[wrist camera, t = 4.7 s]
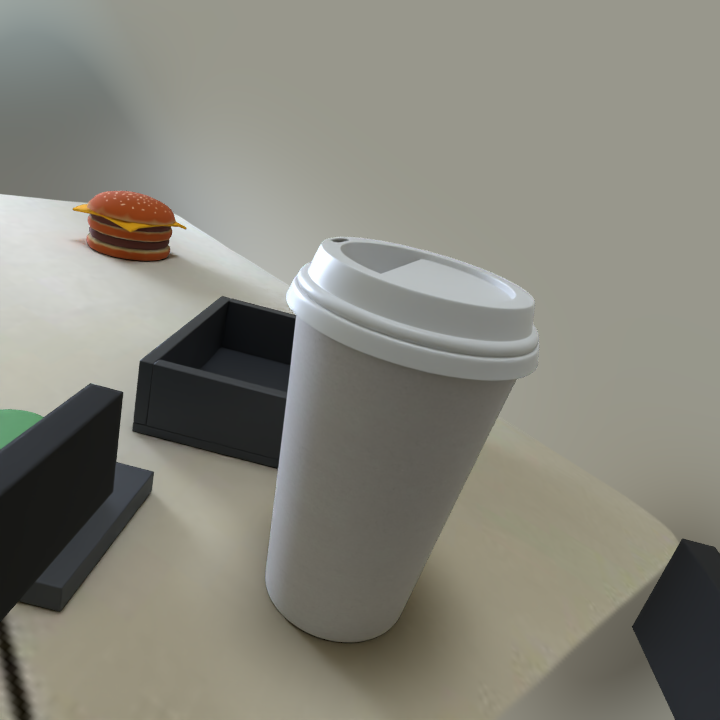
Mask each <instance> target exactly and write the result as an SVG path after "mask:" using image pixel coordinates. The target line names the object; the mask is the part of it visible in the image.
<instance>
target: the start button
mask: <svg viewBox="0 0 720 720" xmlns="http://www.w3.org/2000/svg"><path fill="white" fill-rule="evenodd" d="M42 418H44V417H42V416H40V415H38V414H35V413H32V412H28V411H23V410H12V409H3V410H0V449H2V448H3V447H4V446H6V445H7V444H8V443H10V442H11V441H12V440H14V439H15V438H17V437H18V436H19V435H21V434H22V433H23V432H25V431H26V430H27V429H29V428H30V427H32V426H33V425H34V424H36V423H37V422H38V421H40V420H41V419H42Z"/></svg>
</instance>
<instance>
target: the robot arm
mask: <svg viewBox="0 0 720 720" xmlns="http://www.w3.org/2000/svg"><path fill="white" fill-rule="evenodd" d="M122 399H123V392H121V391H117V390H114V389H110V388H106V387H102V386H98V385H94V384H91V383H90V384H89V385H87V386H86V387H85V388H83V389H82V390H81V391H79V392H78V393H77V394H75V395H74V396H72V397H71V398H70V399H68V400H67V401H66V402H64V403H63V404H62V405H60V406H59V407H57V408H56V409H55V410H53V411H52V412H51V413H49V414H48V415H47V416H45V417H44V418H42V419H41V420H40V421H38V422H37V423H36V424H34V425H33V426H32V427H30V428H29V429H27V430H26V431H25V432H23V433H22V434H21V435H19V436H18V437H17V438H15V439H14V440H12V441H11V442H10V443H8V444H7V445H6V446H4V447H3V448H2V449H0V622H1V621H2V620H3V618H4V617H5V616H6V615H7V614H8V613H9V611H10V610H11V609H12V608H13V607H14V606H15V605H16V603H17V602H18V601H19V600H20V599H21V598H22V596H23V595H24V594H25V593H26V592H27V591H28V590H29V588H30V587H31V586H32V585H33V584H34V583H35V581H36V580H37V579H38V578H39V577H40V576H41V575H42V573H43V572H44V571H45V570H46V569H47V568H48V566H49V565H50V564H51V563H52V562H53V561H54V560H55V558H56V557H57V556H58V555H59V554H60V553H61V551H62V550H63V549H64V548H65V547H66V546H67V544H68V543H69V542H70V541H71V540H72V539H73V538H74V536H75V535H76V534H77V533H78V532H79V531H80V529H81V528H82V527H83V526H84V525H85V524H86V523H87V521H88V520H89V519H90V518H91V517H92V516H93V514H94V513H95V512H96V511H97V510H98V509H99V508H100V506H101V505H102V504H103V503H104V502H105V501H106V499H107V498H108V497H109V496H110V495H111V494H112V493H113V488H114V478H115V468H116V459H117V449H118V439H119V429H120V419H121V409H122ZM632 628H633V630H634V632H635V634H636V636H637V638H638V640H639V643H640V645H641V647H642V649H643V651H644V654H645V656H646V658H647V660H648V662H649V664H650V667H651V669H652V671H653V673H654V675H655V677H656V679H657V682H658V684H659V686H660V688H661V690H662V692H663V694H664V696H665V699H666V701H667V703H668V705H669V707H670V710H671V712H672V714H673V716H674V718H675V720H720V553H719V552H718V551H717V549H716V548H715V547H713V546H709V545H705V544H701V543H697V542H693V541H690V540H686V539H682V540H681V542H680V544H679V545H678V547H677V549H676V551H675V552H674V554H673V556H672V558H671V559H670V561H669V563H668V565H667V566H666V568H665V570H664V572H663V573H662V575H661V577H660V579H659V580H658V582H657V584H656V586H655V587H654V589H653V591H652V593H651V594H650V596H649V598H648V600H647V601H646V603H645V605H644V607H643V609H642V610H641V612H640V614H639V616H638V617H637V619H636V621H635V623H634V625H633V626H632Z"/></svg>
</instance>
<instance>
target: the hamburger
mask: <svg viewBox="0 0 720 720" xmlns="http://www.w3.org/2000/svg"><path fill="white" fill-rule="evenodd" d="M73 210H74V211H79V212H84V213H89V214H90V215H89V216H88V224H89V225H90V227H89V232H90V233H89V234H88V235H87V243H88V245H89V247H91V248H92V249H94V250H96V251H98V252H100V253H103V254H106V255H110V256H113V257H117V258H123V259H128V260H140V261H156V260H160V259H164V258H167V256H168V255H169V253H170V247H169V245H168V244H169V238H170V237H171V235H172V229H171V226H174V227H181V228H183V229H186V227H185V226H183V225H181V224H179V223H177V222H176V221H175V217H174V214H173V212H172V211H171V209H170V208H169V207H167V206H166V205H165V204H163V203H161V202H160V201H158V200H156V199H153V198H151V197H149V196H147V195H143V194H139V193H135V192H129V191H108V192H103V193H100V194H98V195H96V196H95V197H94V198H93V199H91V200H90V201H89V203H88V204H83V205H80V206H77V207H75V208H73Z"/></svg>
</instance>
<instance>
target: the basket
mask: <svg viewBox="0 0 720 720" xmlns="http://www.w3.org/2000/svg"><path fill="white" fill-rule="evenodd" d="M295 322H296V315H293V314H289V313H285V312H282V311H278V310H274V309H270V308H266V307H262V306H259V305H255V304H251V303H247V302H243V301H239V300H236V299H231V298H227V297H224V296H222V297H220V298H219V299H218V300H216V301H215V302H214V303H213V304H211V305H210V306H209V307H208V308H206V309H205V310H204V311H202V312H201V313H200V314H199V315H197V316H196V317H195V318H194V319H192V320H191V321H190V322H188V323H187V324H186V325H185V326H183V327H182V328H181V329H180V330H178V331H177V332H176V333H174V334H173V335H172V336H171V337H169V338H168V339H167V340H166V341H164V342H163V343H162V344H160V345H159V346H158V347H157V348H155V349H154V350H153V351H151V352H150V353H149V354H148V355H146V356H145V357H144V358H143V359H141V360H140V364H139V374H138V383H137V393H136V402H135V412H134V422H133V431H136V432H139V433H143V434H147V435H151V436H155V437H159V438H163V439H166V440H170V441H174V442H178V443H182V444H186V445H190V446H194V447H197V448H201V449H205V450H209V451H213V452H217V453H221V454H224V455H228V456H232V457H236V458H240V459H244V460H248V461H252V462H255V463H259V464H263V465H267V466H271V467H275V468H278V466H279V458H280V450H281V442H282V434H283V425H284V417H285V409H286V400H287V392H288V384H289V375H290V366H291V358H292V349H293V340H294V331H295Z"/></svg>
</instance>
